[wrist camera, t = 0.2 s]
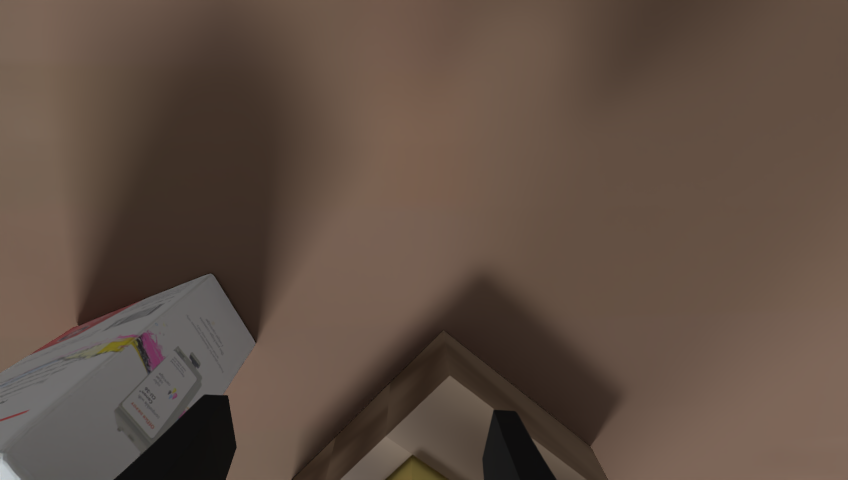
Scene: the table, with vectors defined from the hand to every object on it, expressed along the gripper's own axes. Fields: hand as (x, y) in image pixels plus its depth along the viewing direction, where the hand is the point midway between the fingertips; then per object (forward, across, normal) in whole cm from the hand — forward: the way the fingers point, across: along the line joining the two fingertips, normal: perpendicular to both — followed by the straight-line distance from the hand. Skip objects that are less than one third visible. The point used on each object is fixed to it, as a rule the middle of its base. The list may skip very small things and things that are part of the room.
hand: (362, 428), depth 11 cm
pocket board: (+9, -4, +13) cm, 16 cm away
